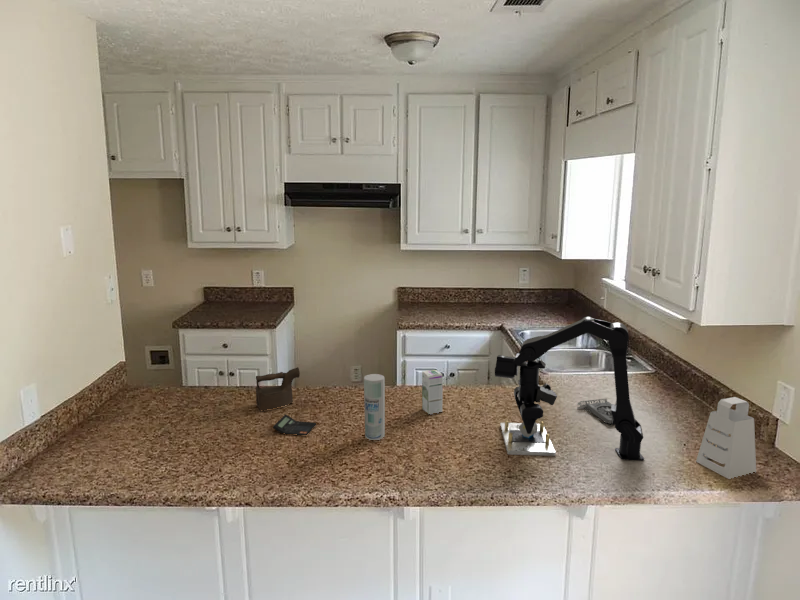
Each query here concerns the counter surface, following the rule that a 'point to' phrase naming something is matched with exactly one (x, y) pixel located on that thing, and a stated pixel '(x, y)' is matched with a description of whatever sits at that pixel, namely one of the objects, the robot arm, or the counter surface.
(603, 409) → the graphics card
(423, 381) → the syrup box
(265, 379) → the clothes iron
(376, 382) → the spray can
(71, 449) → the counter surface
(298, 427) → the calculator
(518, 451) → the chassis plate
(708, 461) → the grater
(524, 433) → the electric motor
